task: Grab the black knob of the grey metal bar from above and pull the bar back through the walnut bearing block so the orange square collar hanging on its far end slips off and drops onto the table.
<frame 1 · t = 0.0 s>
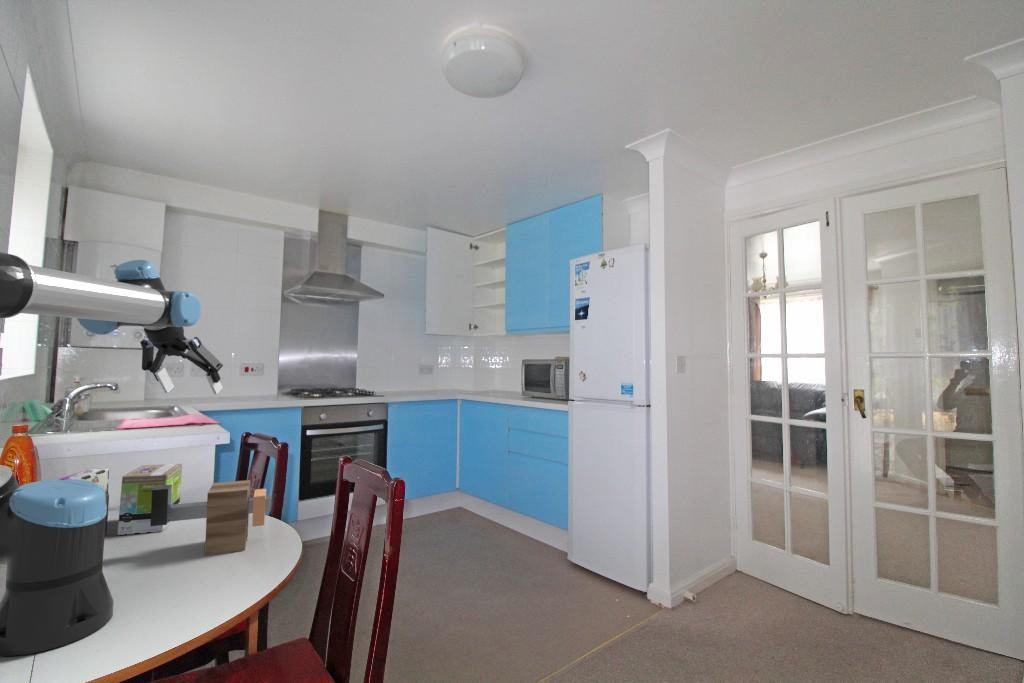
hand: (194, 390, 129), 36 cm above the table, tool tilted 35°, fingers open, 13 cm apart
shaft: (214, 500, 115), point 11 cm above the table, slide at 0.0 cm, touching spacer
spacer: (258, 521, 119), point 5 cm above the table, touching shaft
candy bar box: (79, 543, 116), on the table
bearing block: (227, 545, 116), on the table
supplement bottle: (93, 526, 127), on the table
tea box: (150, 525, 129), on the table
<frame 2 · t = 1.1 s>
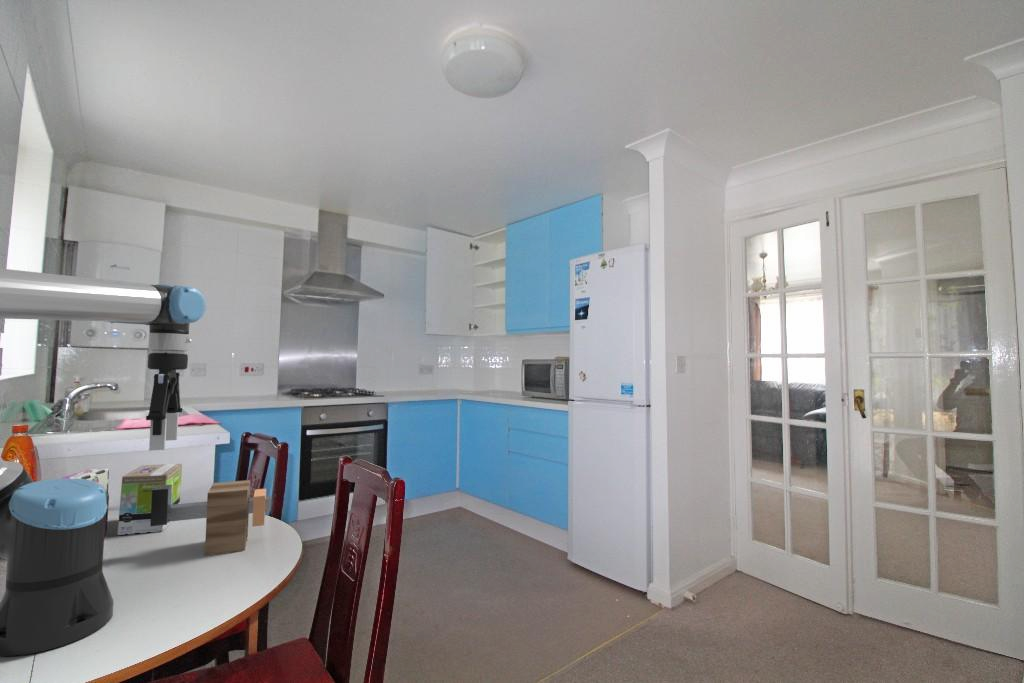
hand: (163, 445, 111), 25 cm above the table, tool pointing down, fingers open, 13 cm apart
nothing on the table moved.
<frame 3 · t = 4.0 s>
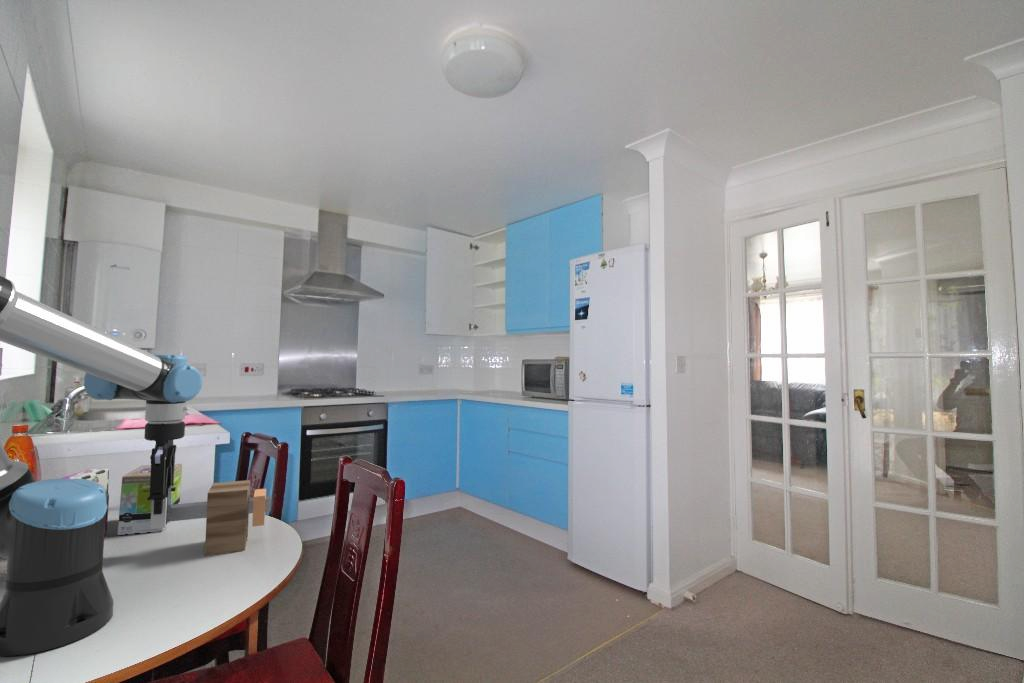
hand: (160, 524, 110), 7 cm above the table, tool pointing down, fingers closed on shaft, 4 cm apart
shaft: (214, 500, 115), point 11 cm above the table, slide at 0.0 cm, touching gripper, spacer
everything else where it was.
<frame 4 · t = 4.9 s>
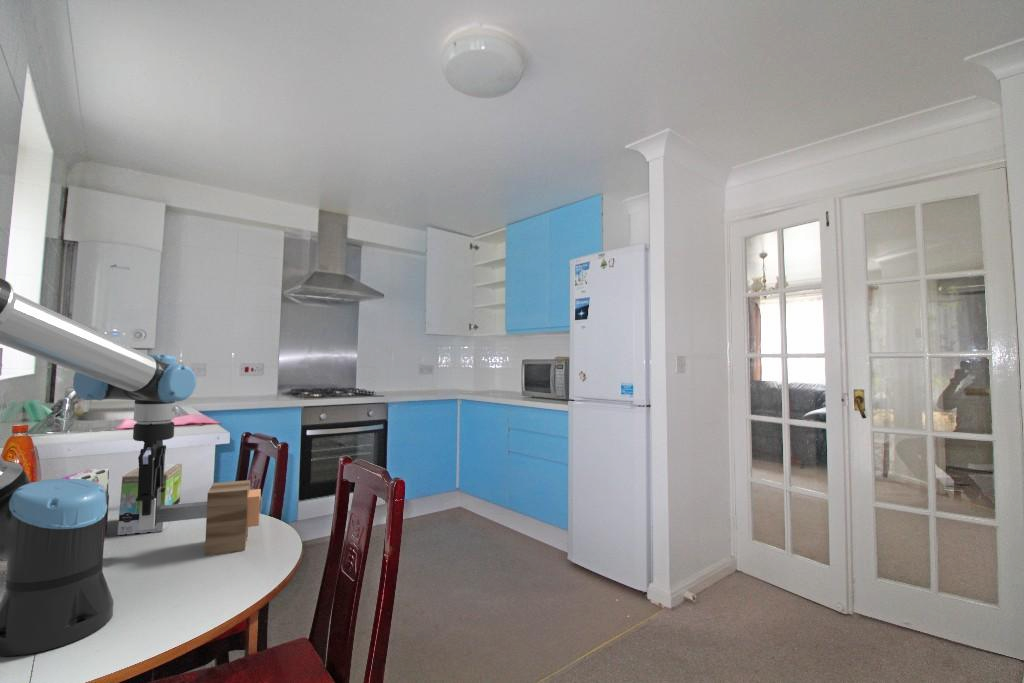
hand: (149, 525, 110), 7 cm above the table, tool pointing down, fingers closed on shaft, 4 cm apart
shaft: (204, 501, 114), point 11 cm above the table, slide at 2.0 cm, touching gripper, spacer
spacer: (253, 521, 118), point 5 cm above the table, touching shaft
everything else where it was.
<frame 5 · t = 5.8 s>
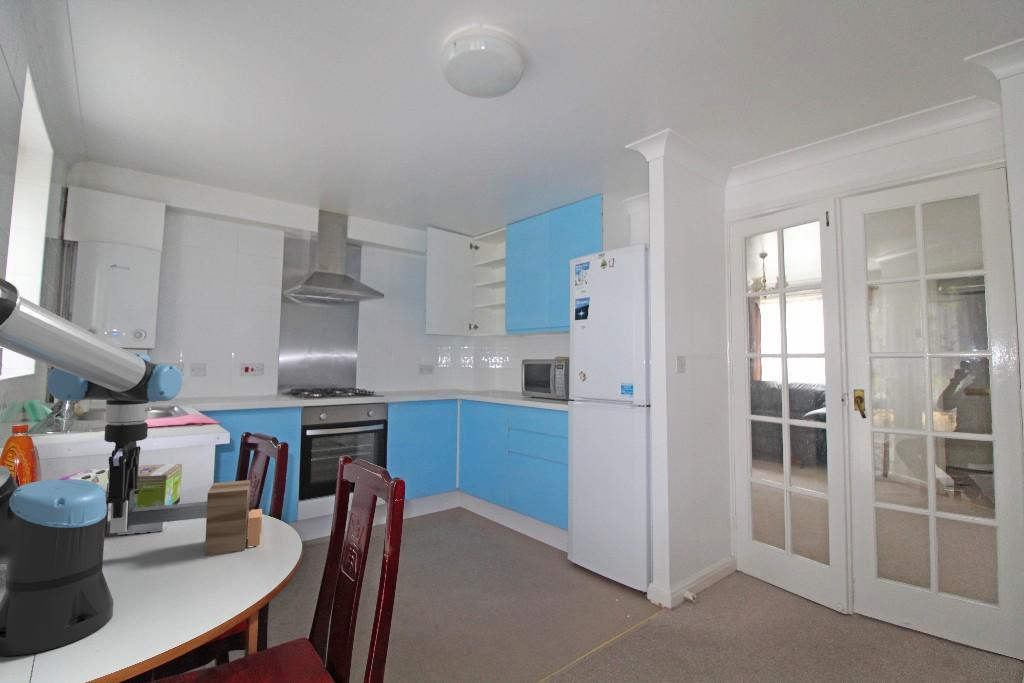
hand: (121, 528, 107), 7 cm above the table, tool pointing down, fingers closed on shaft, 4 cm apart
shaft: (179, 503, 112), point 11 cm above the table, slide at 7.0 cm, touching gripper
spacer: (254, 542, 118), on the table
everything else where it was.
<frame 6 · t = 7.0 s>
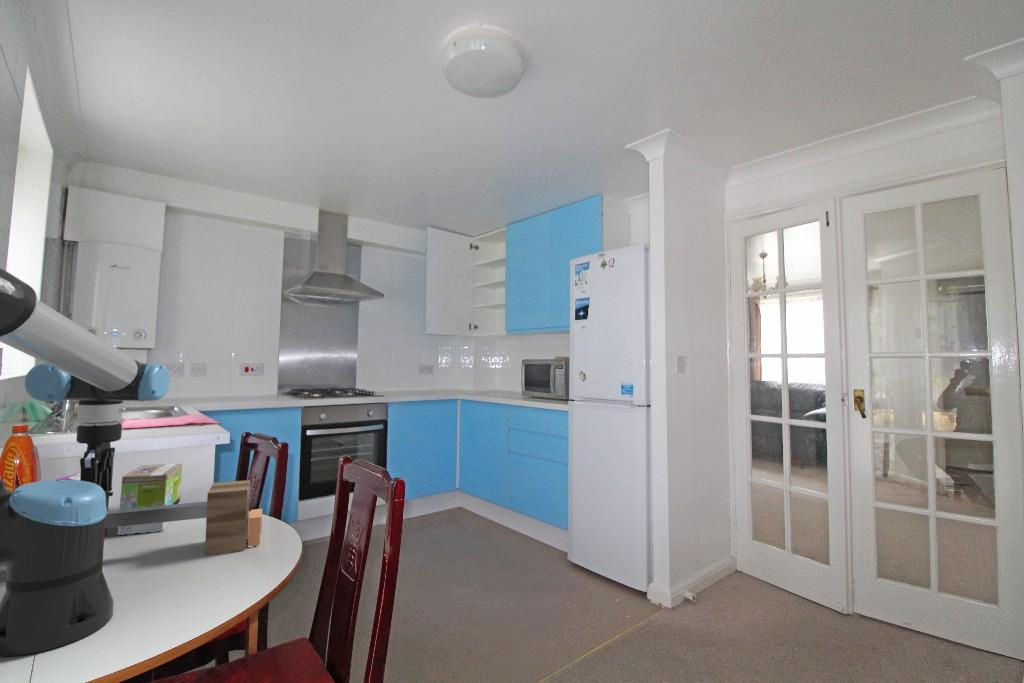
hand: (94, 531, 105), 7 cm above the table, tool pointing down, fingers closed on shaft, 4 cm apart
shaft: (154, 505, 110), point 11 cm above the table, slide at 11.8 cm, touching gripper
everything else where it was.
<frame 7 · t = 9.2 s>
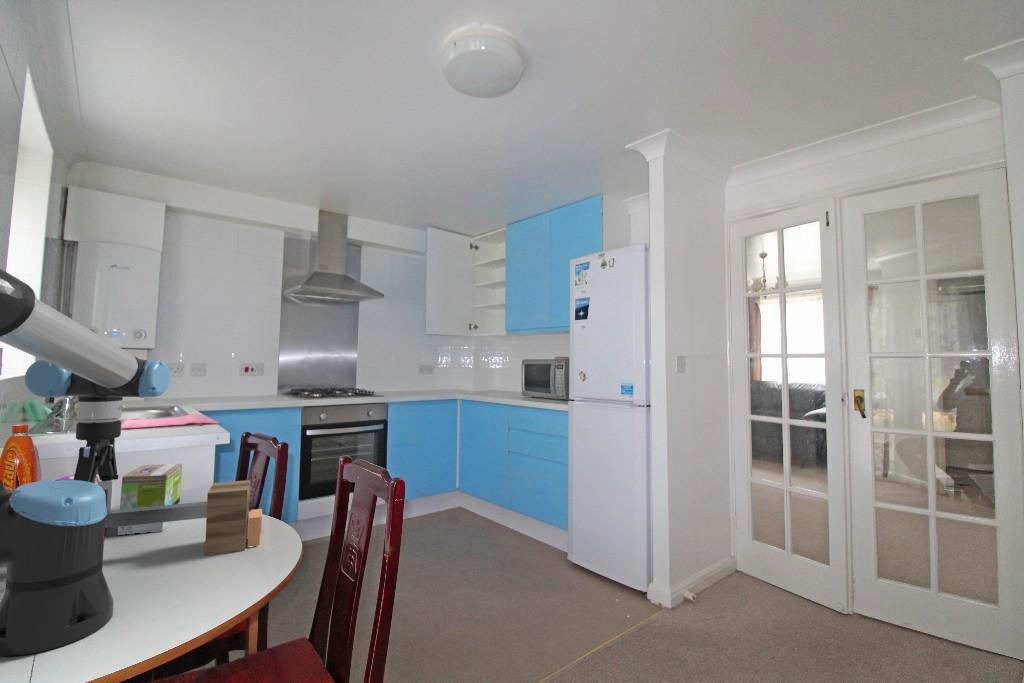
hand: (93, 518, 105), 9 cm above the table, tool pointing down, fingers open, 13 cm apart
shaft: (153, 505, 110), point 11 cm above the table, slide at 11.9 cm
everything else where it was.
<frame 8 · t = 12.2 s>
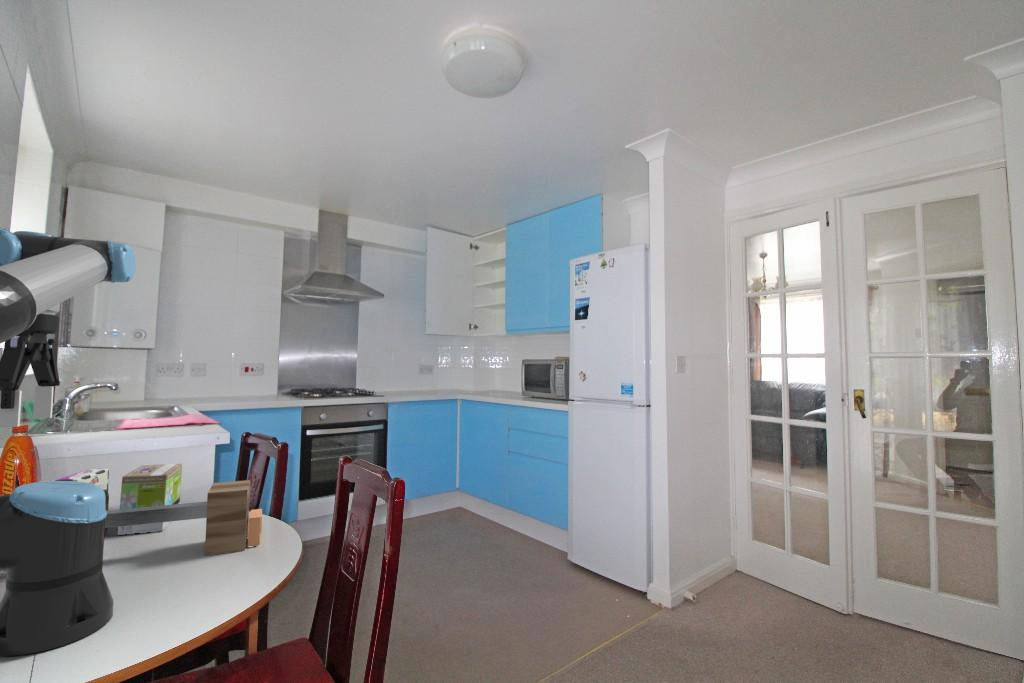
hand: (26, 422, 94), 32 cm above the table, tool pointing down, fingers open, 13 cm apart
nothing on the table moved.
at the end: shaft slide at 11.9 cm; spacer on the table; spacer touching table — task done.
